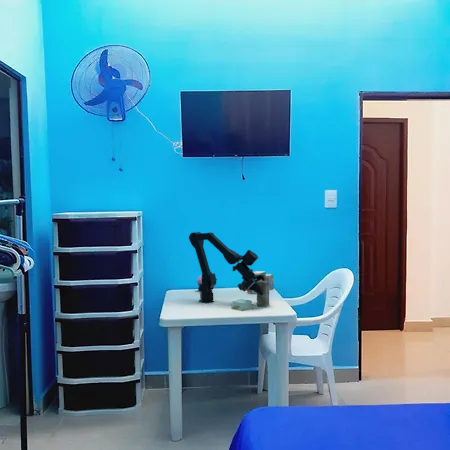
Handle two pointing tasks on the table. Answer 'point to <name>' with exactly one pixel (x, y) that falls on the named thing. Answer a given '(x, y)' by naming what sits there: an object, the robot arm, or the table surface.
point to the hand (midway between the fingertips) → (265, 293)
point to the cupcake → (199, 280)
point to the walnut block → (264, 299)
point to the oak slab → (242, 307)
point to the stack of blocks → (268, 278)
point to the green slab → (242, 302)
